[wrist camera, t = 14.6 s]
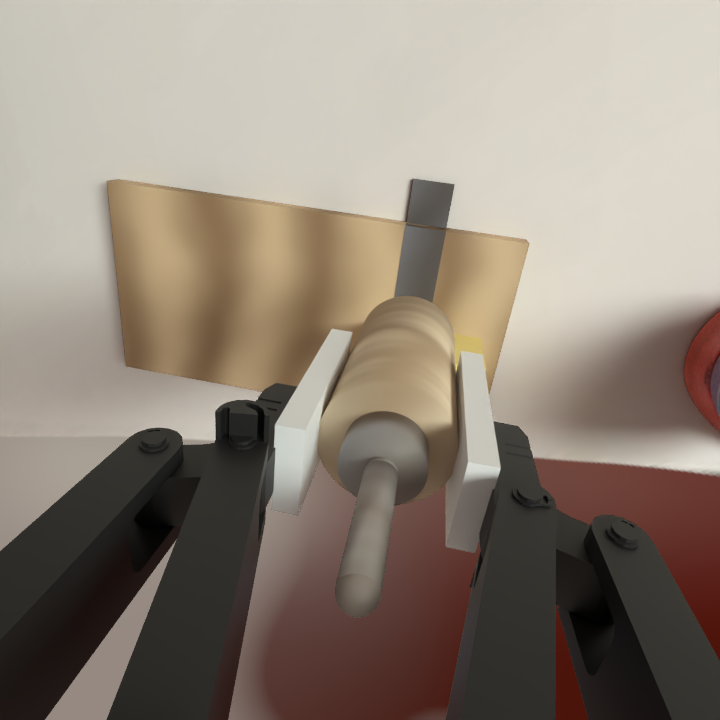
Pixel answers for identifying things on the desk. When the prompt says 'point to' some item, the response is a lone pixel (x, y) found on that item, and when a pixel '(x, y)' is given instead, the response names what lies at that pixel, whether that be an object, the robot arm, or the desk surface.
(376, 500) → the awl
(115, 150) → the desk surface
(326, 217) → the board
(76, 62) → the desk surface
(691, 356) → the stacking bear
